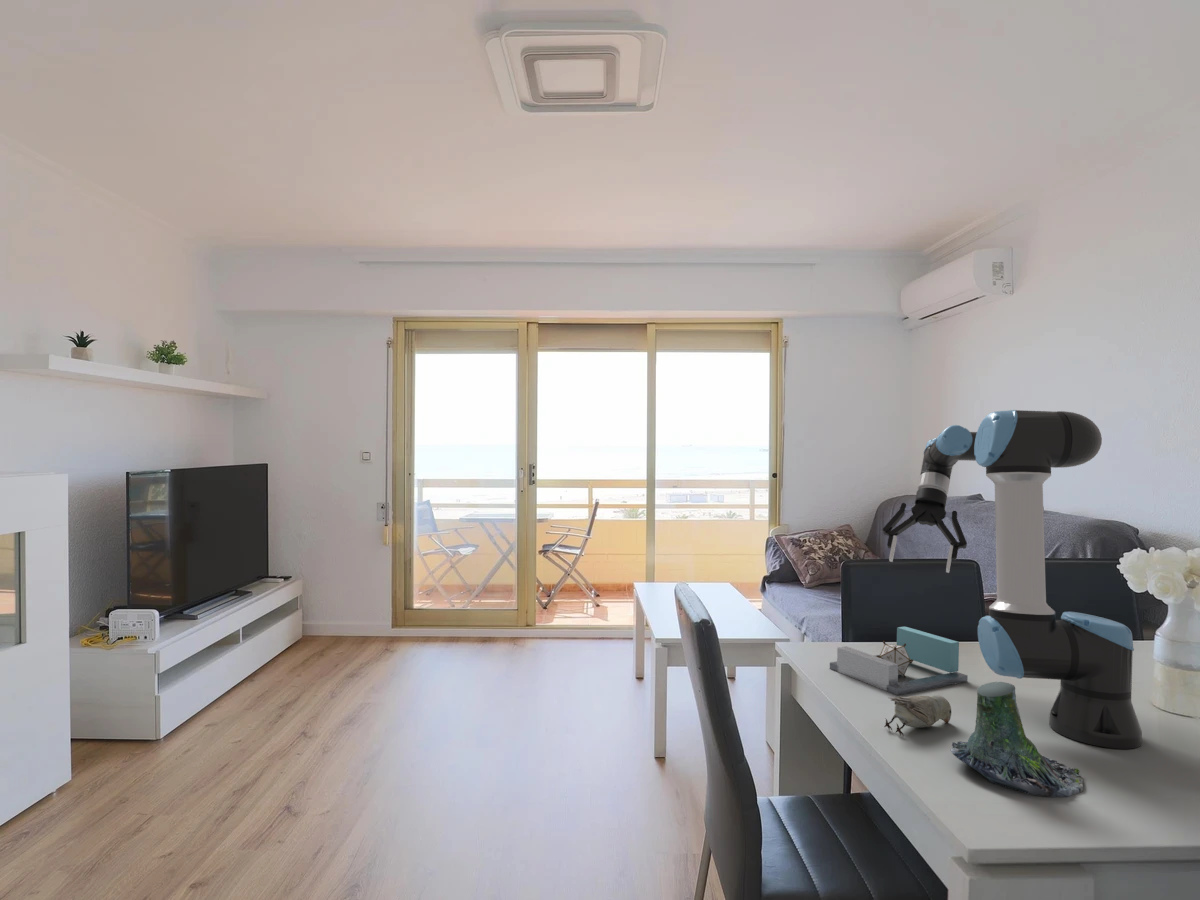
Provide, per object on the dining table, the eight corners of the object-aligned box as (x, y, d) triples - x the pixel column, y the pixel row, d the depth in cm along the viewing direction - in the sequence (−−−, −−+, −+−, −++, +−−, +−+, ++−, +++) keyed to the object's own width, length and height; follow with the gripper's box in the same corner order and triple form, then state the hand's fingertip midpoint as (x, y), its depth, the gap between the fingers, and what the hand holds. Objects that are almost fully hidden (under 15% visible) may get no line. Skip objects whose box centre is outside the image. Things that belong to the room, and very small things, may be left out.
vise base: (967, 681, 171) (967, 656, 171) (897, 695, 161) (897, 669, 161) (896, 657, 190) (897, 635, 190) (829, 668, 180) (830, 644, 180)
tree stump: (1115, 805, 113) (1093, 698, 112) (990, 829, 114) (967, 723, 114) (1049, 750, 131) (1029, 658, 131) (941, 771, 133) (921, 680, 132)
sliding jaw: (958, 671, 174) (959, 641, 174) (950, 672, 172) (950, 643, 172) (904, 653, 188) (905, 626, 188) (896, 654, 187) (897, 627, 187)
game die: (897, 693, 173) (899, 668, 167) (867, 672, 179) (868, 647, 174) (919, 671, 177) (922, 645, 171) (889, 651, 183) (891, 626, 177)
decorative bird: (959, 728, 143) (960, 691, 143) (901, 740, 136) (901, 702, 136) (936, 718, 148) (937, 683, 148) (879, 730, 141) (880, 693, 141)
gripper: (983, 506, 188) (972, 580, 180) (884, 491, 200) (869, 560, 192) (984, 493, 182) (973, 570, 174) (882, 479, 194) (867, 550, 186)
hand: (918, 565), depth 183 cm, fingers open, 13 cm apart
